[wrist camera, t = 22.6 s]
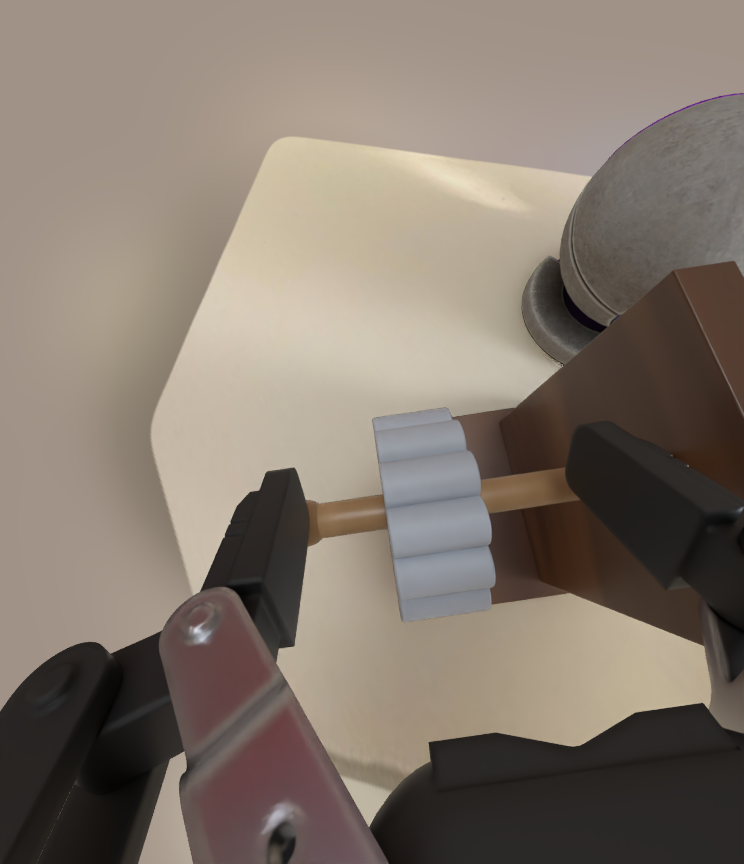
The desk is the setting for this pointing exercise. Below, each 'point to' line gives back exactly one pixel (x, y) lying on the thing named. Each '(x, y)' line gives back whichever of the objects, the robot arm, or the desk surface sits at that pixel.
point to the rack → (627, 408)
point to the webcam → (643, 224)
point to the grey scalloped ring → (434, 515)
